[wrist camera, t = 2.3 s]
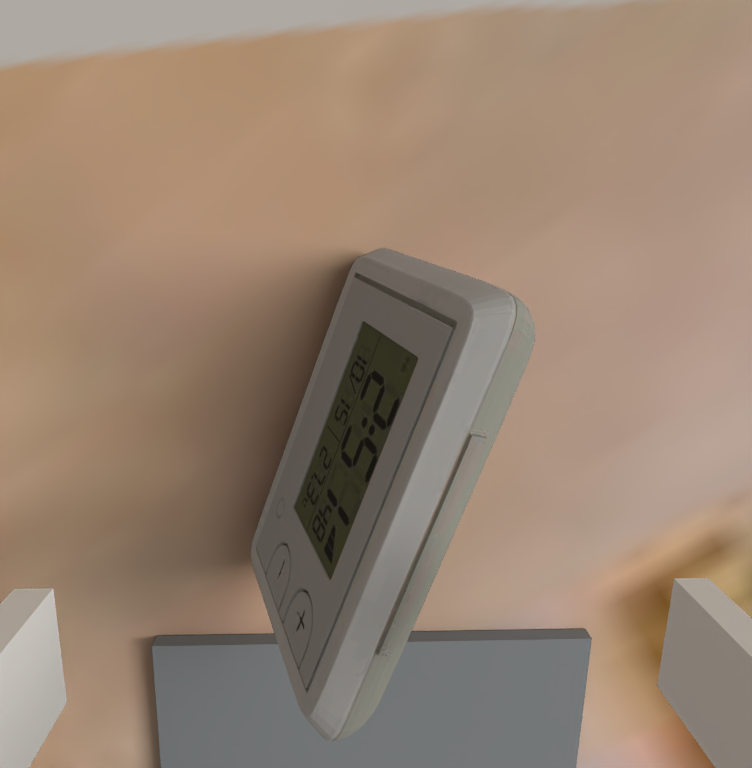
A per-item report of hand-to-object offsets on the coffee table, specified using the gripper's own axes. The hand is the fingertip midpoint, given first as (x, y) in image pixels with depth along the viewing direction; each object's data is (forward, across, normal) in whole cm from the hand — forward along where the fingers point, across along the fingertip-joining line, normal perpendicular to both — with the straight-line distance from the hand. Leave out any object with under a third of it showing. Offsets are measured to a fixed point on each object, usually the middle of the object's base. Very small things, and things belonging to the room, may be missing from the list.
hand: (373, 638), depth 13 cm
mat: (+15, -1, +20) cm, 25 cm away
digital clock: (+16, 0, 0) cm, 16 cm away
